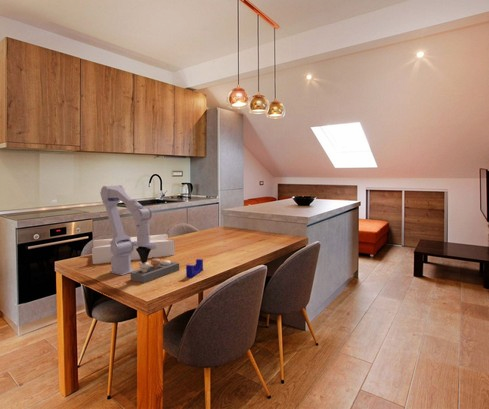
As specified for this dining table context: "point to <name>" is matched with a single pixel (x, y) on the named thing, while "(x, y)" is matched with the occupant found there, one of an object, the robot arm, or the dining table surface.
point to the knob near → (144, 267)
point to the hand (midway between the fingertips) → (144, 262)
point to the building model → (104, 255)
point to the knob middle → (155, 263)
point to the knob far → (166, 262)
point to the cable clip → (194, 268)
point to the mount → (153, 272)
